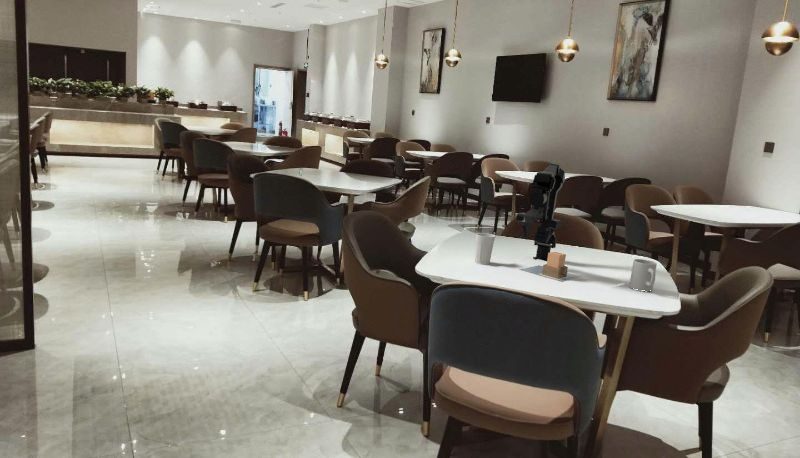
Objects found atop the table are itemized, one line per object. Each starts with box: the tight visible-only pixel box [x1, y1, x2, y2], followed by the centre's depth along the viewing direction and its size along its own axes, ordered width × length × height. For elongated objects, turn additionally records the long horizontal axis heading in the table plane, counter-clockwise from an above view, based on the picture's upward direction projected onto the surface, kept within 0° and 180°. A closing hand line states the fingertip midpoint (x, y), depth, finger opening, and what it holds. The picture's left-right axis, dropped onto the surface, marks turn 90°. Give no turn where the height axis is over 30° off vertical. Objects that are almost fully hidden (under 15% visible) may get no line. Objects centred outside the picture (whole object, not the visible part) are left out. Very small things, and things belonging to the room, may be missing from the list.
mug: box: [628, 258, 657, 291], centre depth 234 cm, size 12×8×11 cm
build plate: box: [518, 264, 582, 283], centre depth 246 cm, size 16×20×1 cm
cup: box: [474, 232, 496, 266], centre depth 255 cm, size 8×8×12 cm
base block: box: [542, 263, 569, 279], centre depth 242 cm, size 7×7×4 cm
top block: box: [546, 251, 567, 268], centre depth 241 cm, size 5×5×5 cm
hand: (536, 240), depth 251 cm, fingers open, 9 cm apart
